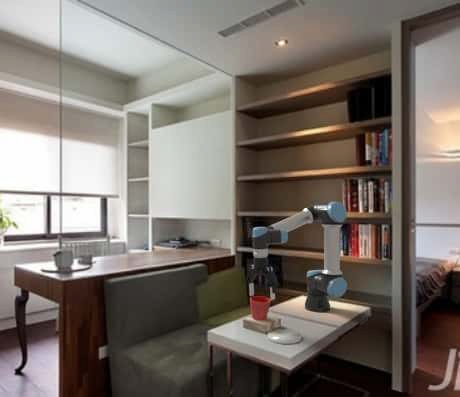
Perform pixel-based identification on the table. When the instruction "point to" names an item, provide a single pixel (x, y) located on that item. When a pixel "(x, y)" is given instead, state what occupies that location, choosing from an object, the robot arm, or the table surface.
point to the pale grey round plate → (284, 336)
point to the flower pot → (259, 307)
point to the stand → (262, 324)
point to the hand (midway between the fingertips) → (262, 297)
